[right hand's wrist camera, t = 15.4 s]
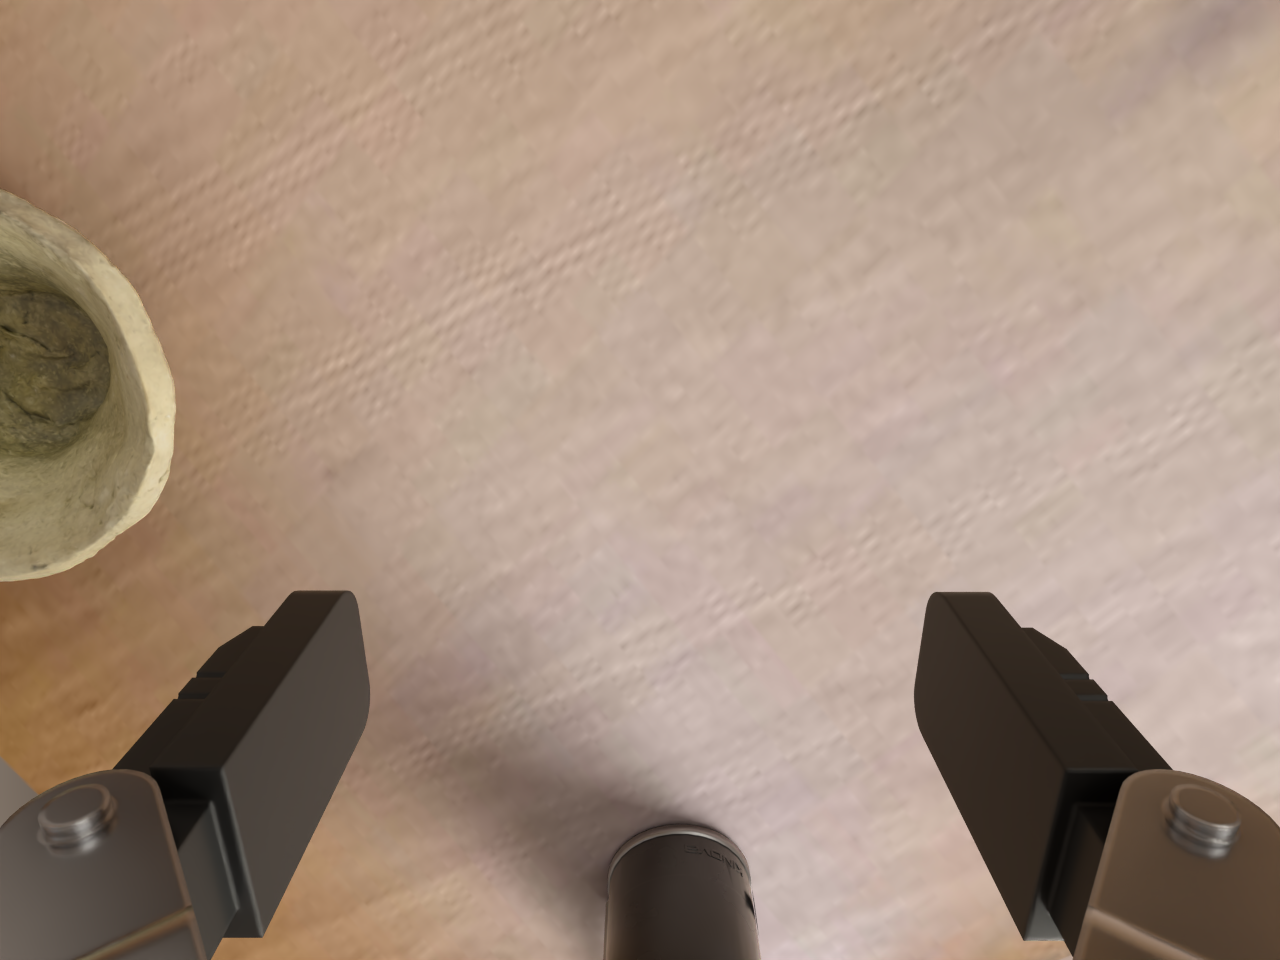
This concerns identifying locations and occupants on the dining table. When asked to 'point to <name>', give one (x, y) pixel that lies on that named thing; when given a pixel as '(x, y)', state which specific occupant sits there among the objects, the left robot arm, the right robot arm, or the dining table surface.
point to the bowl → (73, 397)
